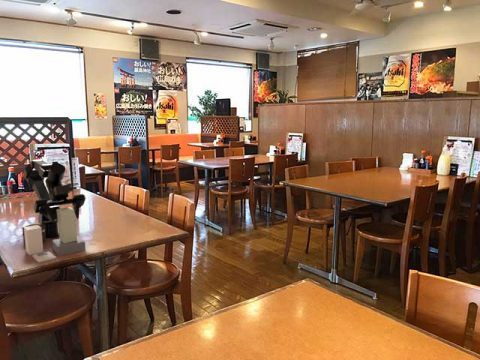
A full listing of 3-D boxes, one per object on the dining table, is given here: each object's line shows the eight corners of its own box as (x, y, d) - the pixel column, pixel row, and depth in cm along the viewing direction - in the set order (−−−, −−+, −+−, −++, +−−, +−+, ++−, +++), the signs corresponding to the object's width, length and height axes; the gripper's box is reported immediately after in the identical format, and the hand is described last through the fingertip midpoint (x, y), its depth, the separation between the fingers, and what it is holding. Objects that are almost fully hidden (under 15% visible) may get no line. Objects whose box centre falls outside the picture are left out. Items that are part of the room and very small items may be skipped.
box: (35, 245, 158) (34, 228, 156) (23, 244, 159) (21, 227, 158) (46, 240, 164) (44, 224, 162) (33, 239, 165) (32, 223, 164)
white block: (26, 251, 151) (23, 227, 149) (39, 248, 154) (37, 224, 152) (29, 255, 147) (27, 230, 145) (43, 252, 150) (41, 227, 149)
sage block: (59, 240, 153) (56, 209, 151) (72, 237, 156) (69, 206, 154) (64, 243, 149) (60, 211, 147) (77, 240, 153) (74, 208, 150)
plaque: (32, 256, 146) (32, 254, 145) (49, 252, 149) (49, 251, 149) (38, 262, 140) (38, 260, 140) (55, 258, 144) (55, 256, 143)
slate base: (52, 249, 154) (52, 240, 154) (78, 244, 160) (78, 235, 160) (58, 256, 147) (57, 246, 146) (85, 251, 153) (85, 241, 152)
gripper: (33, 179, 146) (43, 213, 140) (82, 174, 159) (94, 205, 153) (29, 196, 154) (39, 229, 147) (77, 190, 166) (88, 220, 160)
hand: (66, 220), depth 152 cm, fingers open, 9 cm apart
